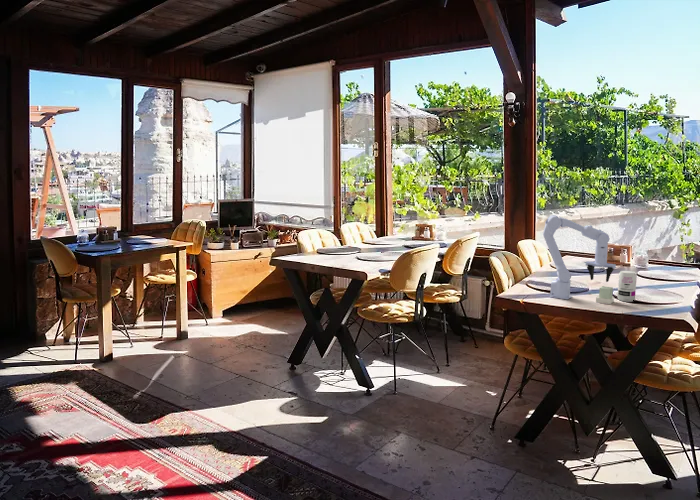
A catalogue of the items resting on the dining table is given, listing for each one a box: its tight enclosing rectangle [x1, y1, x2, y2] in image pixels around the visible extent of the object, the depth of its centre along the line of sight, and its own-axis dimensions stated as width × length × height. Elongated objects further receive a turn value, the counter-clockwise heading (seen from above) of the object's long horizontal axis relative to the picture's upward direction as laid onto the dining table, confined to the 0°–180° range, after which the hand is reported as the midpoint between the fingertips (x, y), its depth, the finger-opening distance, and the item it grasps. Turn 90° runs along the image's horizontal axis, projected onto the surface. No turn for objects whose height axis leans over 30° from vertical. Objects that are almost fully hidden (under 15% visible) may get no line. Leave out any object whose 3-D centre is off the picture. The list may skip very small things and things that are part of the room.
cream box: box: [595, 295, 615, 305], centre depth 295 cm, size 7×7×3 cm
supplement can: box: [616, 270, 638, 303], centre depth 297 cm, size 8×8×15 cm
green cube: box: [598, 285, 614, 299], centre depth 294 cm, size 5×5×5 cm
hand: (599, 280), depth 300 cm, fingers open, 7 cm apart
